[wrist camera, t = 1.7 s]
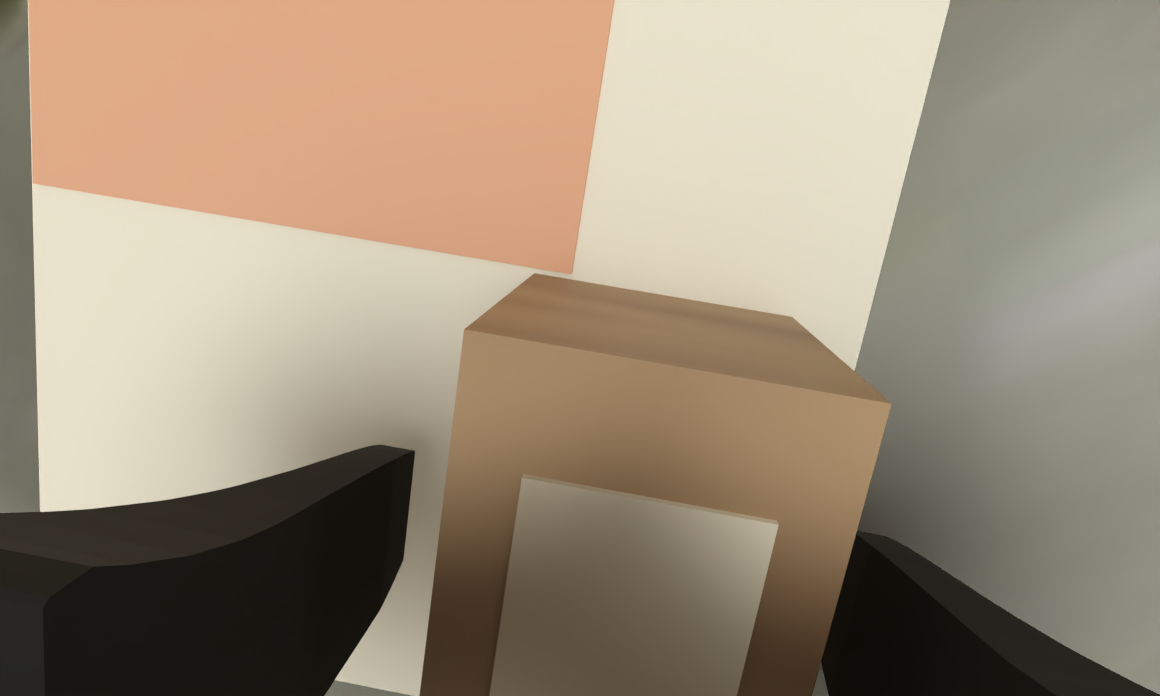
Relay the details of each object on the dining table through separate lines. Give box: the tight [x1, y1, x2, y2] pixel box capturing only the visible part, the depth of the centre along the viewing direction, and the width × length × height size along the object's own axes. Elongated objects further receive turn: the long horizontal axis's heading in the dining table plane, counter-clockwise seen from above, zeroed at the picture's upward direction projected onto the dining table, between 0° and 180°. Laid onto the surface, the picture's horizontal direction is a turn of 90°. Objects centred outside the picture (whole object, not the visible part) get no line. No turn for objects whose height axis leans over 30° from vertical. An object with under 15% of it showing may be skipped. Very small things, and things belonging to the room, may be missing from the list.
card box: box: [419, 273, 892, 696], centre depth 11 cm, size 8×4×5 cm, turn 171°
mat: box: [28, 0, 950, 696], centre depth 13 cm, size 17×15×1 cm
